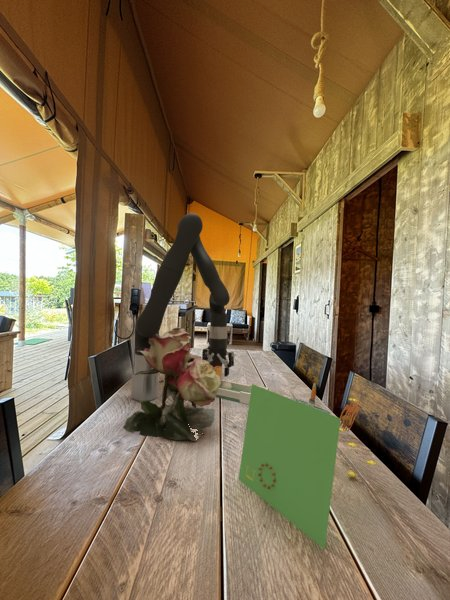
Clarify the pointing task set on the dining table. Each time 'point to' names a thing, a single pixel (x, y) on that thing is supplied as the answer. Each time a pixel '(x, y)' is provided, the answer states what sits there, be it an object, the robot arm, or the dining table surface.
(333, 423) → the green panel with ring
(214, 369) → the orange upright block
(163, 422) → the rose bouquet
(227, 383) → the ball
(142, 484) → the dining table surface
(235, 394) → the cream tray
